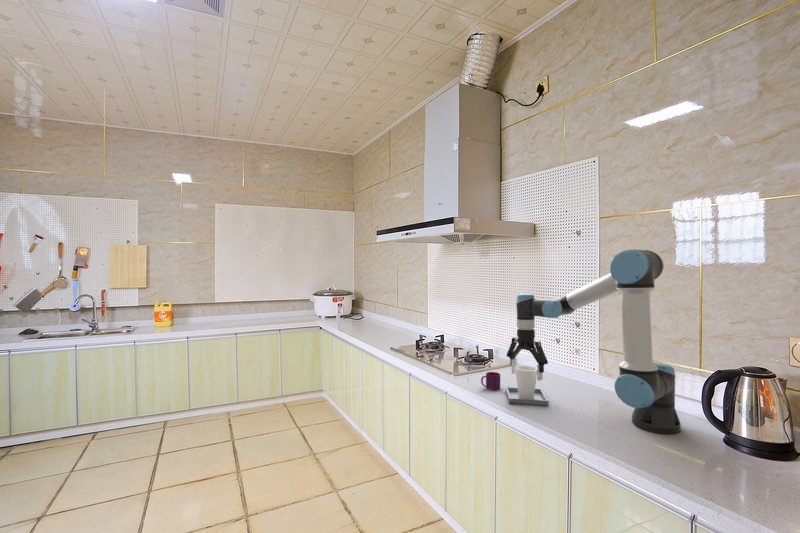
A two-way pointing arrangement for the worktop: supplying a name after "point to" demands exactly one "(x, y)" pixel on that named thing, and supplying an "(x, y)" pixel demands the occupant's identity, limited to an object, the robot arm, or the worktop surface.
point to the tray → (515, 399)
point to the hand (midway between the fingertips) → (526, 376)
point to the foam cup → (526, 381)
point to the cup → (492, 380)
